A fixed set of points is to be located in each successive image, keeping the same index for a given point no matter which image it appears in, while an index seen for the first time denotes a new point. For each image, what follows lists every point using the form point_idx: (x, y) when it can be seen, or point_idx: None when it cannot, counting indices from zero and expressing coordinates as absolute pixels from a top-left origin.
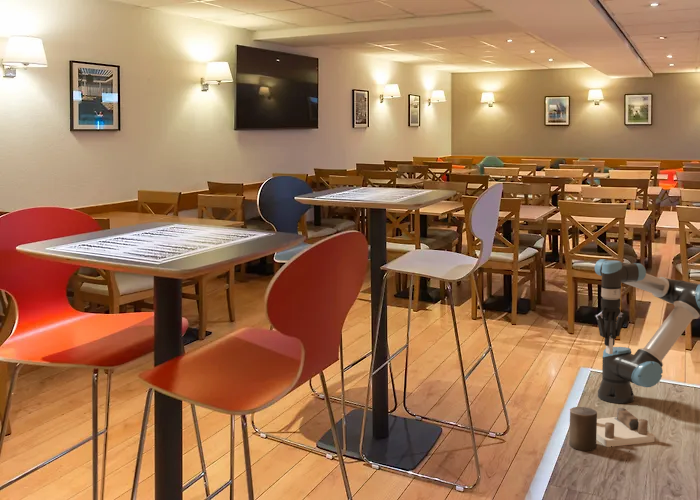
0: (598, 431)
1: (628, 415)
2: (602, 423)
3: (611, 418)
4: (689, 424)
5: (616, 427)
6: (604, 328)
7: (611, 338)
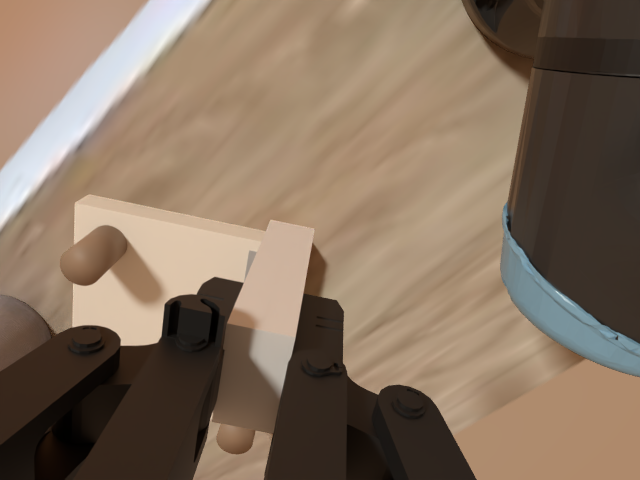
0: (91, 323)
1: None
2: (159, 272)
3: (236, 247)
4: (538, 368)
5: None
6: (83, 474)
7: (256, 416)
